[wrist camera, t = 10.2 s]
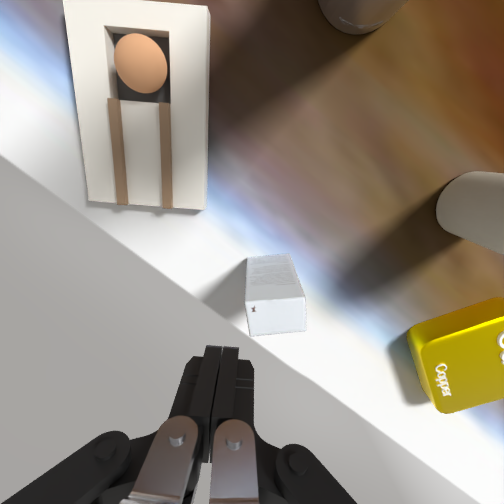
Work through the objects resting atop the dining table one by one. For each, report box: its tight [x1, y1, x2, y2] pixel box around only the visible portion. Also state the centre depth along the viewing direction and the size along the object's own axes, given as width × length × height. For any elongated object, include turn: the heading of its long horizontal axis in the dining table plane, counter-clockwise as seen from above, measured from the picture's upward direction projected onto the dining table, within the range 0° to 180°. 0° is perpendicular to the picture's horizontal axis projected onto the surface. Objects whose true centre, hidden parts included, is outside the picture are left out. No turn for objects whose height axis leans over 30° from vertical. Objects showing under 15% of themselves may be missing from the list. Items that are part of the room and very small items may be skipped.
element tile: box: [407, 297, 504, 414], centre depth 41 cm, size 15×15×5 cm
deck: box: [63, 0, 210, 210], centre depth 30 cm, size 20×14×3 cm
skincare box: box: [244, 253, 307, 336], centre depth 33 cm, size 6×4×12 cm
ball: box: [114, 33, 167, 93], centre depth 28 cm, size 5×5×5 cm
